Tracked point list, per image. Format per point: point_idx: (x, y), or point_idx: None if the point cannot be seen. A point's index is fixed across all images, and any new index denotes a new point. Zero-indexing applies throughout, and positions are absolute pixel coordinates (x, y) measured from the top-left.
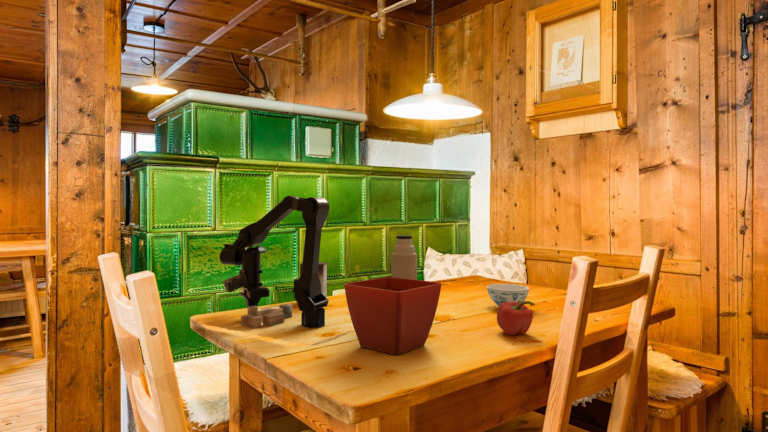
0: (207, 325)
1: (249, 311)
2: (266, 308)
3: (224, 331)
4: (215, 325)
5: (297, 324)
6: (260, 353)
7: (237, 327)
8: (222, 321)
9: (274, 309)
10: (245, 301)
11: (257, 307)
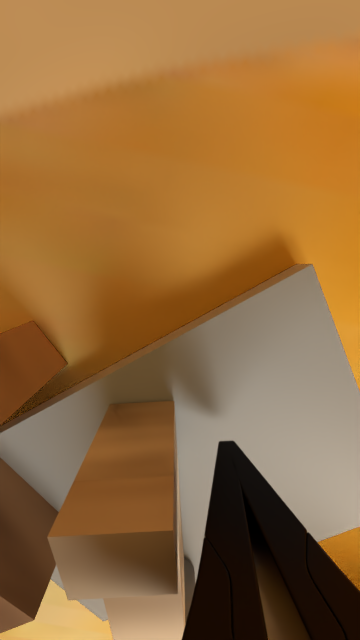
0: (276, 91)
1: (94, 478)
2: (161, 599)
3: (8, 197)
4: (238, 165)
5: None
6: None
7: (100, 311)
8: (337, 248)
9: (111, 625)
10: (354, 591)
11: (70, 590)
